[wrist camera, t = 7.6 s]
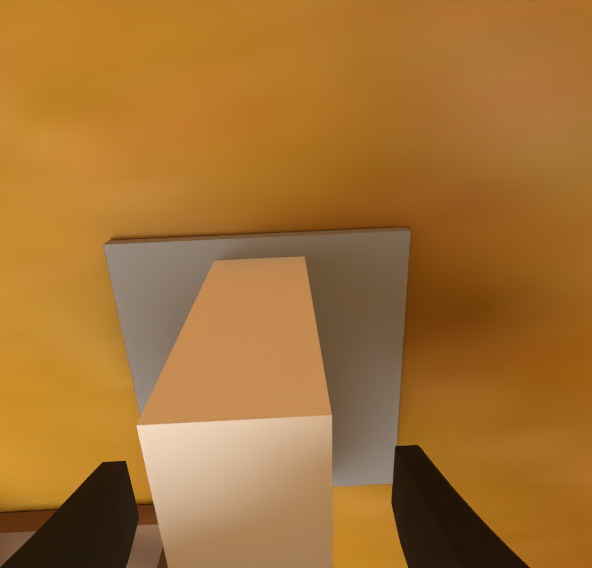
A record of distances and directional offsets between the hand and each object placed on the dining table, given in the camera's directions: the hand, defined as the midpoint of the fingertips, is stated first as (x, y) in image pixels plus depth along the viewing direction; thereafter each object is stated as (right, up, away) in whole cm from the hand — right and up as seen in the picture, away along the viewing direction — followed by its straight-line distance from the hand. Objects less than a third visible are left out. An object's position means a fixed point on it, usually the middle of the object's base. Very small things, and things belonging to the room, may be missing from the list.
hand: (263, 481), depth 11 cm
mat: (0, +2, +5) cm, 5 cm away
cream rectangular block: (0, +2, +4) cm, 5 cm away
